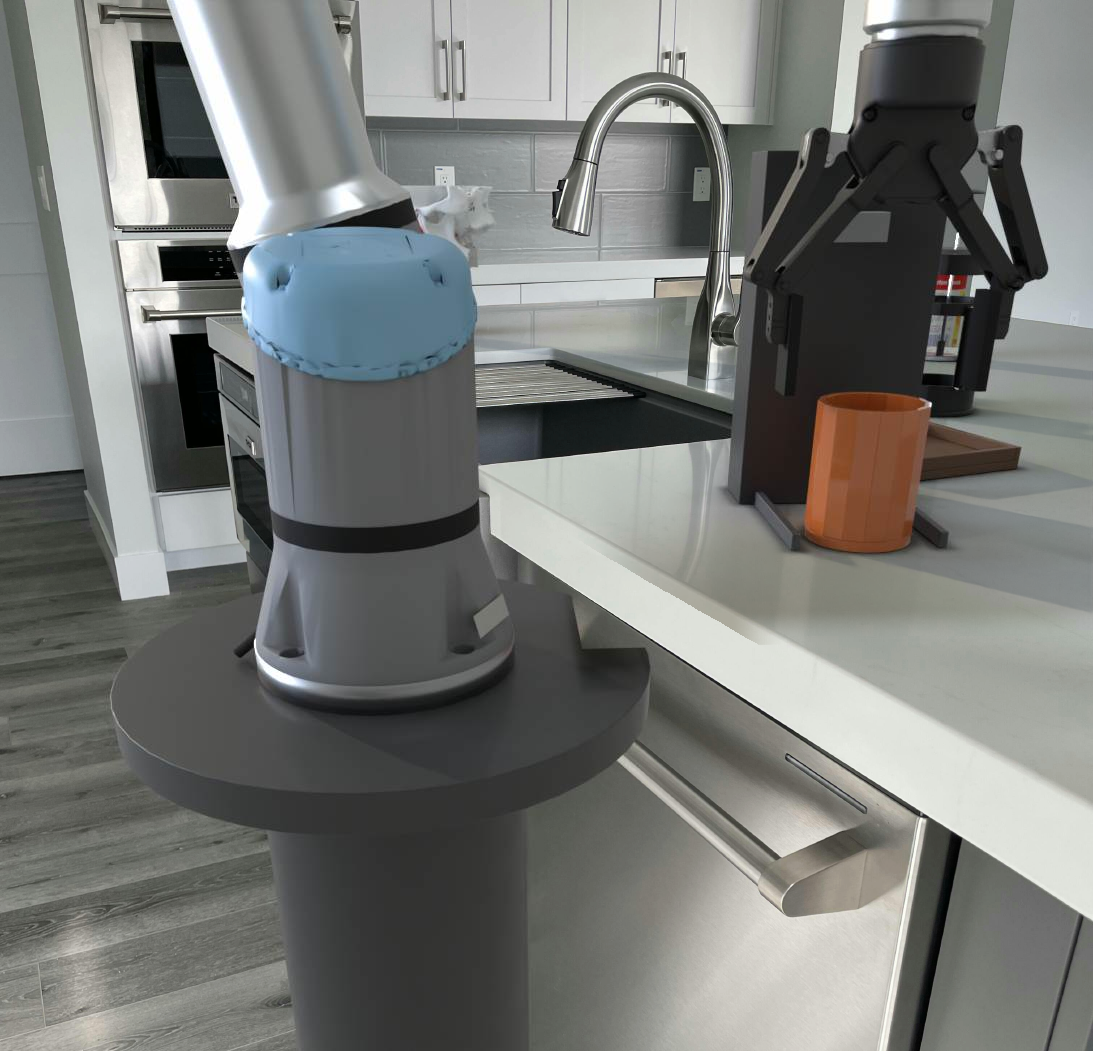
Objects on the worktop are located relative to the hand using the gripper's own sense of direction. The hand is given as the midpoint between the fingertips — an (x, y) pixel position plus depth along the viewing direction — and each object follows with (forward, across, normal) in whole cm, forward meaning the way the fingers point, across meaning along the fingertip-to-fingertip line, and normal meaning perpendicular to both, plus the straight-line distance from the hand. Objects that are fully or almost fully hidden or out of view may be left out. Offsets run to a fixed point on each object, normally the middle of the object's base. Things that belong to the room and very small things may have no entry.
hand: (879, 391), depth 77 cm
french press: (+11, -24, -48) cm, 55 cm away
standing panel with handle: (+11, 0, -6) cm, 12 cm away
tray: (+11, -13, -24) cm, 29 cm away
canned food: (+11, -38, -88) cm, 96 cm away
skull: (+11, +38, -120) cm, 126 cm away
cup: (+11, 0, 0) cm, 11 cm away
